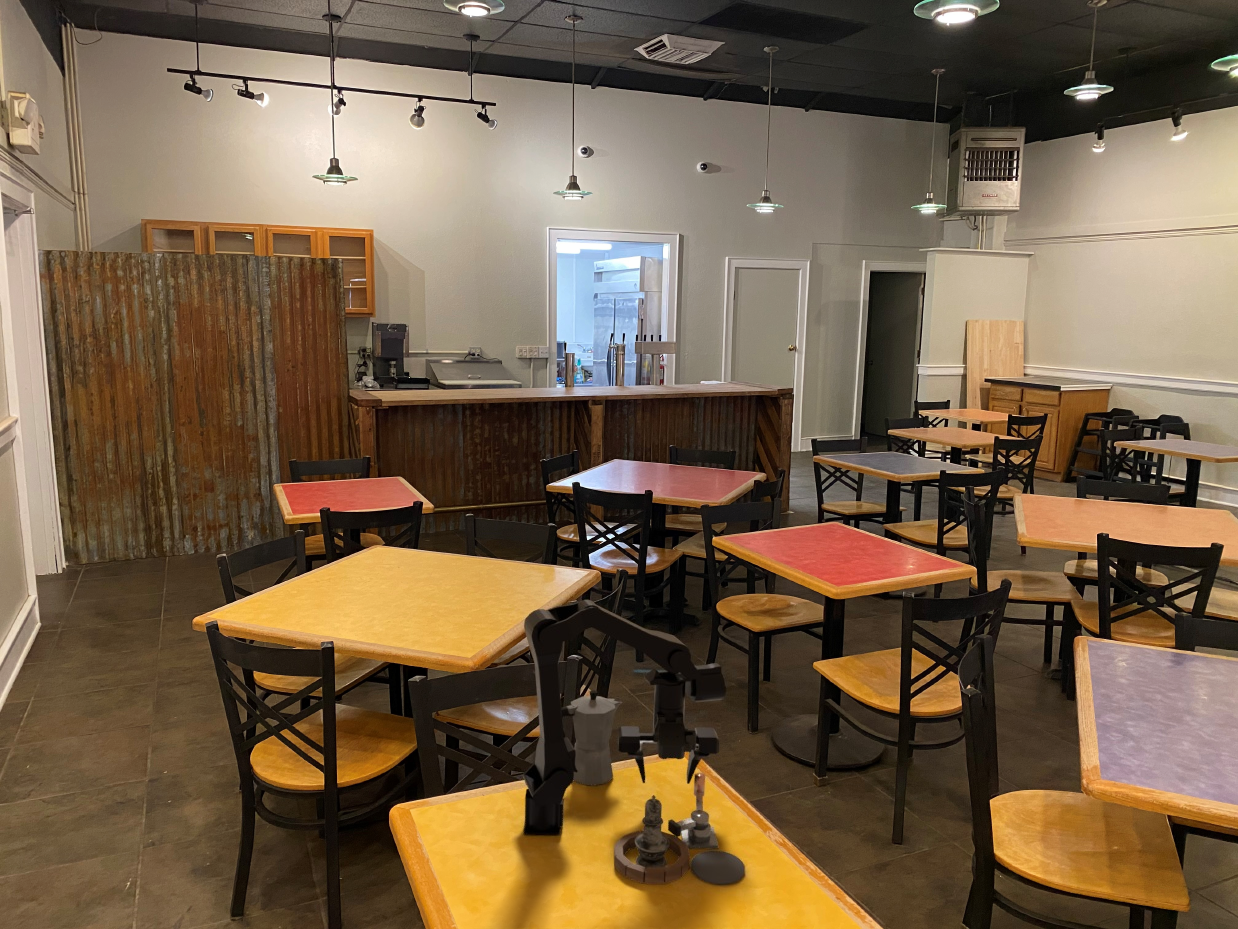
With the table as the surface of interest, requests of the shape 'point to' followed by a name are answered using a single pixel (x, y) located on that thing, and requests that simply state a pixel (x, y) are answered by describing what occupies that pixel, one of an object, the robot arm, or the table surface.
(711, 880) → the pad
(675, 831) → the clamp
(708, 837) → the pivot block
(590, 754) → the coffeepot
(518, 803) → the table surface
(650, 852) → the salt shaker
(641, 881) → the socket ring
